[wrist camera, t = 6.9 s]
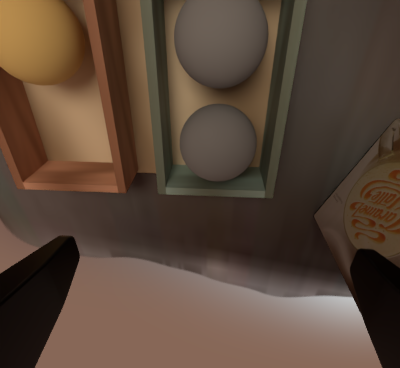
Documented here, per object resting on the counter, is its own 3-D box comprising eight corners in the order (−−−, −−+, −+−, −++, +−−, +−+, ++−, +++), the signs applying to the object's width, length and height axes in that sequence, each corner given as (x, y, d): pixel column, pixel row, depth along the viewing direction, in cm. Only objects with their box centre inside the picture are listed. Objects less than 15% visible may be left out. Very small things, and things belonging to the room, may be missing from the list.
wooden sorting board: (335, -335, 10) (399, -527, 6) (263, 169, 20) (272, 201, 17) (-100, -309, 10) (-255, -466, 7) (51, 163, 21) (19, 192, 18)
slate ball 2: (255, 95, 16) (268, 119, 13) (248, 160, 19) (257, 197, 15) (181, 94, 17) (173, 118, 13) (183, 159, 19) (177, 195, 15)
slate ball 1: (267, -15, 14) (285, -25, 10) (256, 79, 16) (268, 99, 12) (178, -14, 14) (163, -24, 10) (181, 78, 16) (169, 97, 12)
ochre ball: (89, -14, 14) (41, -24, 10) (104, 77, 16) (70, 96, 13) (6, -14, 14) (-70, -24, 11) (33, 75, 17) (-21, 94, 13)
